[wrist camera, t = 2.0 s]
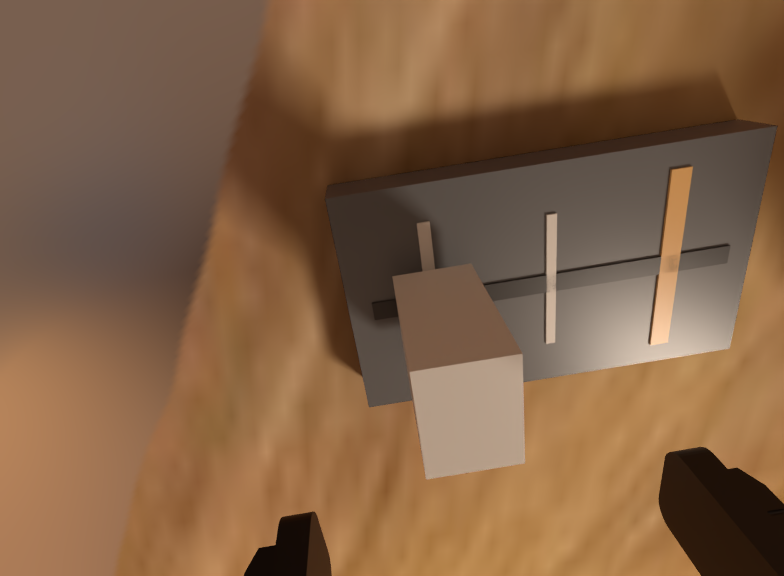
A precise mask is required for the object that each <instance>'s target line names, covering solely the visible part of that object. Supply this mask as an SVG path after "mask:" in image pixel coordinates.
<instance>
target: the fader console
mask: <svg viewBox="0 0 784 576" xmlns="http://www.w3.org/2000/svg"><path fill="white" fill-rule="evenodd" d="M776 130H777V126H775V125H769V124H763V123H757V122H751V121H745V120H738V119H737V120H731V121H725V122H719V123H713V124H706V125H700V126H694V127H688V128H682V129H675V130H669V131H663V132H657V133H651V134H644V135H638V136H632V137H626V138H620V139H613V140H607V141H601V142H595V143H589V144H582V145H576V146H570V147H564V148H558V149H551V150H545V151H539V152H533V153H527V154H520V155H514V156H508V157H502V158H495V159H489V160H483V161H477V162H471V163H464V164H458V165H452V166H446V167H440V168H433V169H427V170H421V171H415V172H409V173H402V174H396V175H390V176H384V177H378V178H371V179H365V180H359V181H353V182H347V183H340V184H334V185H328V186H327V191H326V196H325V201H326V206H327V211H328V215H329V220H330V225H331V230H332V234H333V239H334V244H335V248H336V253H337V258H338V263H339V267H340V272H341V277H342V281H343V286H344V291H345V296H346V300H347V305H348V310H349V315H350V319H351V324H352V329H353V333H354V338H355V343H356V348H357V352H358V357H359V362H360V366H361V371H362V376H363V381H364V385H365V390H366V395H367V400H368V404H369V407H374V406H380V405H386V404H392V403H398V402H405V401H411V400H412V395H411V389H410V383H409V378H408V372H407V366H406V360H405V354H404V347H403V341H402V335H401V328H400V322H399V316H398V309H397V303H396V297H395V290H394V284H393V278H392V276H397V275H403V274H410V273H416V272H422V271H428V270H434V269H440V268H447V267H453V266H459V265H465V264H472V266H473V268H474V270H475V271H476V273H477V275H478V277H479V278H480V280H481V282H482V284H483V285H484V287H485V289H486V291H487V292H488V294H489V296H490V297H491V299H492V301H493V303H494V304H495V306H496V308H497V310H498V311H499V313H500V315H501V317H502V318H503V320H504V322H505V324H506V325H507V327H508V329H509V331H510V332H511V334H512V336H513V338H514V339H515V341H516V343H517V345H518V346H519V348H520V350H521V352H522V353H523V382H527V381H533V380H540V379H546V378H552V377H558V376H564V375H570V374H576V373H583V372H589V371H595V370H601V369H607V368H613V367H619V366H625V365H632V364H638V363H644V362H650V361H656V360H662V359H668V358H675V357H681V356H687V355H693V354H699V353H705V352H711V351H718V350H724V349H729V348H730V344H731V339H732V335H733V330H734V325H735V321H736V316H737V311H738V307H739V302H740V297H741V293H742V288H743V283H744V279H745V274H746V269H747V265H748V260H749V256H750V251H751V246H752V242H753V237H754V232H755V228H756V223H757V218H758V214H759V209H760V204H761V200H762V195H763V190H764V186H765V181H766V176H767V172H768V167H769V163H770V158H771V153H772V149H773V144H774V139H775V135H776Z"/></svg>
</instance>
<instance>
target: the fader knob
mask: <svg viewBox="0 0 784 576" xmlns="http://www.w3.org/2000/svg"><path fill="white" fill-rule="evenodd" d="M392 278H393V284H394V290H395V297H396V303H397V309H398V316H399V322H400V328H401V335H402V341H403V347H404V354H405V360H406V366H407V372H408V378H409V383H410V389H411V395H412V401H413V406H414V412H415V418H416V424H417V429H418V435H419V441H420V447H421V452H422V458H423V464H424V470H425V475H426V479H432V478H438V477H444V476H451V475H457V474H463V473H469V472H475V471H481V470H487V469H493V468H499V467H506V466H512V465H518V464H524V463H525V441H524V395H523V353H522V352H521V350H520V348H519V346H518V345H517V343H516V341H515V339H514V338H513V336H512V334H511V332H510V331H509V329H508V327H507V325H506V324H505V322H504V320H503V318H502V317H501V315H500V313H499V311H498V310H497V308H496V306H495V304H494V303H493V301H492V299H491V297H490V296H489V294H488V292H487V291H486V289H485V287H484V285H483V284H482V282H481V280H480V278H479V277H478V275H477V273H476V271H475V270H474V268H473V266H472V264H465V265H459V266H453V267H447V268H440V269H434V270H428V271H422V272H416V273H410V274H403V275H397V276H392Z"/></svg>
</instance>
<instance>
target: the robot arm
mask: <svg viewBox="0 0 784 576" xmlns="http://www.w3.org/2000/svg"><path fill="white" fill-rule="evenodd" d="M659 506H660V510H661V513H662V516H663V518H664V520H665V523H666V524H667V526H668V528H669V529H670V531H671V532H672V534H673V535H674V537H675V538H676V539H677V541H678V542H679V544H680V545H681V547H682V548H683V550H684V551H685V553H686V554H687V556H688V557H689V558H690V560H691V561H692V563H693V564H694V566H695V567H696V569H697V570H698V572H699V573H700V575H701V576H784V504H783V503H782V502H781V501H780V500H779V499H778V498H777V497H776V496H775V495H774V494H773V493H772V492H771V491H770V490H769V489H768V488H767V486H766V485H764V484H763V483H761V482H759V481H758V480H756V479H755V478H753V477H751V476H750V475H748V474H747V473H745V472H743V471H742V470H740V469H739V468H732V469H727V468H726V467H725V466H724V465H723V464H722V463H721V461H720V460H719V459H718V458H717V457H716V456H715V455H714V454H713V453H712V452H711V451H710V450H708V449H707V448H704V447H697V448H692V449H686V450H680V451H674V452H669V453H667V454H666V456H665V461H664V467H663V473H662V480H661V486H660V492H659ZM244 576H332V575H331V564H330V557H329V553H328V549H327V546H326V543H325V540H324V537H323V534H322V530H321V527H320V524H319V521H318V518H317V515H316V513H315V512H309V513H303V514H297V515H291V516H285V517H282V518H281V519H280V522H279V526H278V533H277V540H276V545H274V546H268V547H263V548H259V549H258V550H257V552H256V554H255V556H254V557H253V559H252V561H251V563H250V564H249V566H248V568H247V570H246V572H245V574H244Z"/></svg>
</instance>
